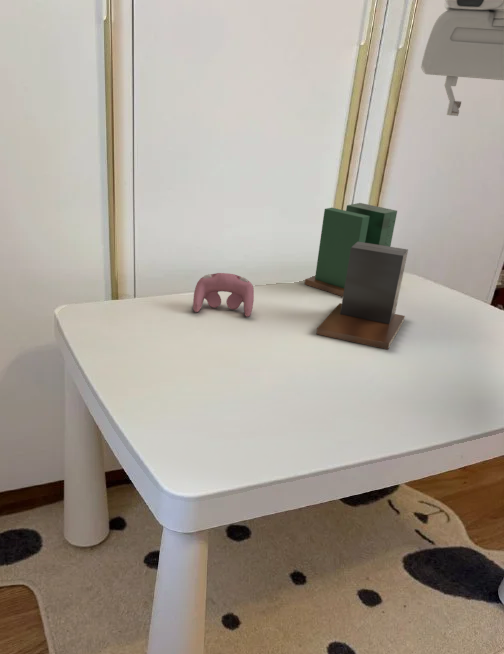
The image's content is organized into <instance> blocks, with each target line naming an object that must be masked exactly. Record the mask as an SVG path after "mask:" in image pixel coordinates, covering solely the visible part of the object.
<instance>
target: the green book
mask: <svg viewBox="0 0 504 654" xmlns="http://www.w3.org/2000/svg"><path fill="white" fill-rule="evenodd" d="M369 217H370V216H367V215H363V214H358V213H354V212H349V211H346V209H345V210H344V209H340V208H335V207H327V208H324V211H323V219H322V225H321V233H320V238H319V239H320V240H319V246H318V254H317V261H316V270H315V275H314V276H315V279H316V280H319V281H322V282H325V283H328V284H331V285H335V286H338V287H341V288H344V287H345V281H346V275H347V269H348V263H349V257H350V251H351V247H352V246H353V245H354V244H356V243H357V242H364V243H365V240H366V234H367V229H368V223H369Z"/></svg>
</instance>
